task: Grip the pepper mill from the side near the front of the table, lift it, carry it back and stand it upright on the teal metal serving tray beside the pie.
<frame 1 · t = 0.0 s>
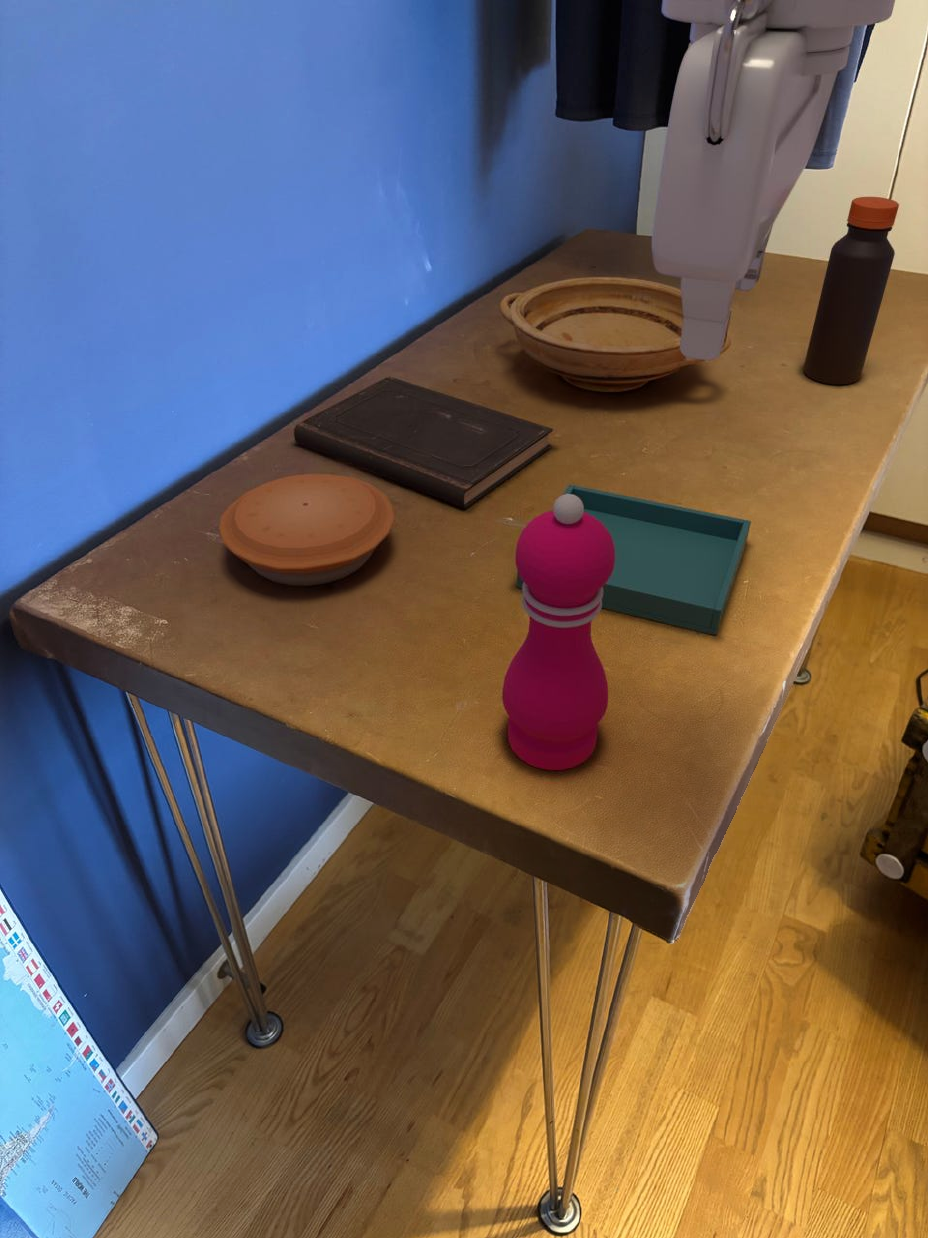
hand: (721, 317, 44), 31 cm above the table, tool pointing down, fingers open, 8 cm apart
bottle: (830, 375, 113), on the table
pie: (311, 552, 84), on the table
hardcover book: (422, 448, 99), on the table
pepper mill: (551, 740, 65), on the table
ceramic bowl: (605, 374, 114), on the table
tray: (634, 565, 81), on the table
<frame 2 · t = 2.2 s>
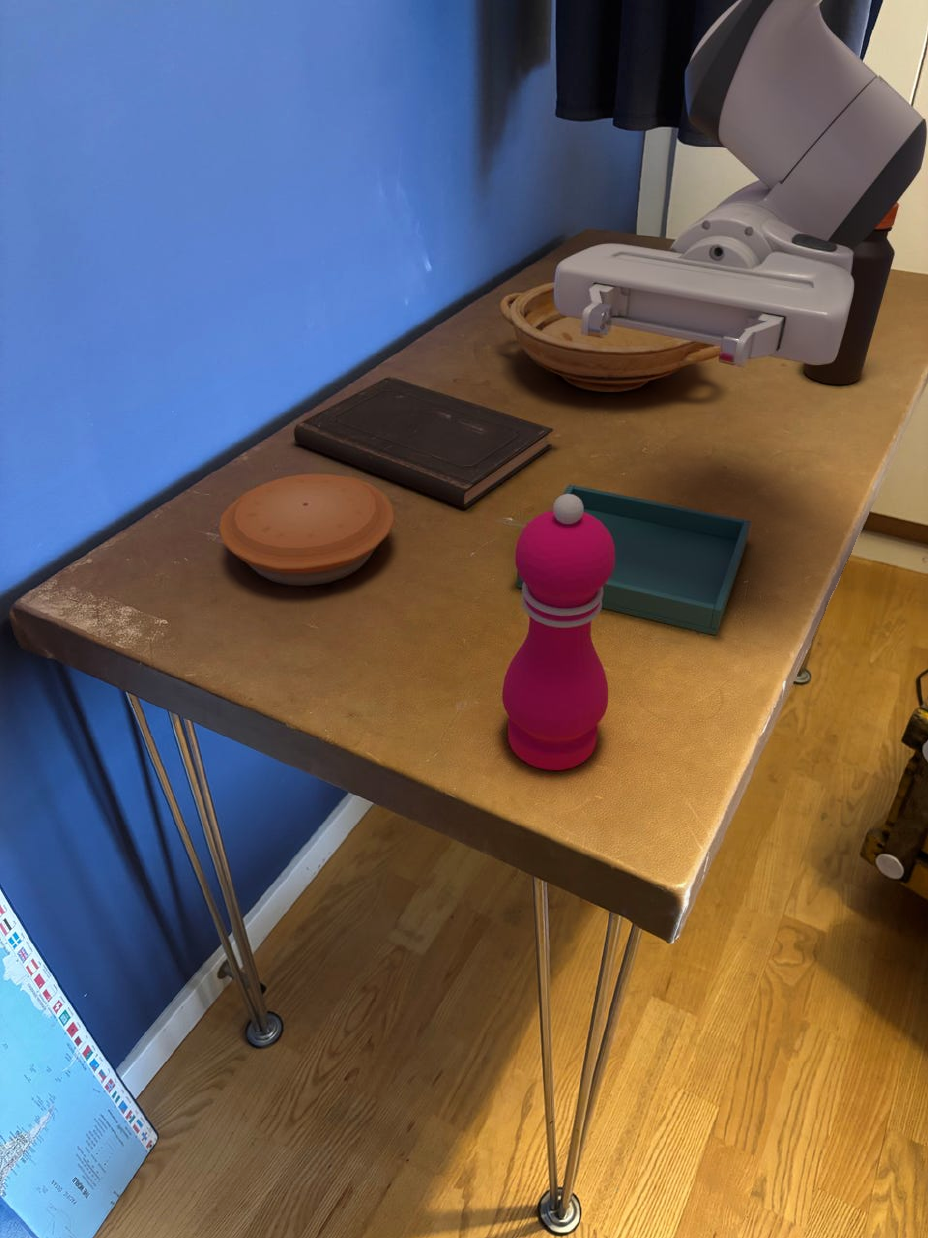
hand: (658, 338, 58), 25 cm above the table, tool horizontal, fingers open, 8 cm apart
nothing on the table moved.
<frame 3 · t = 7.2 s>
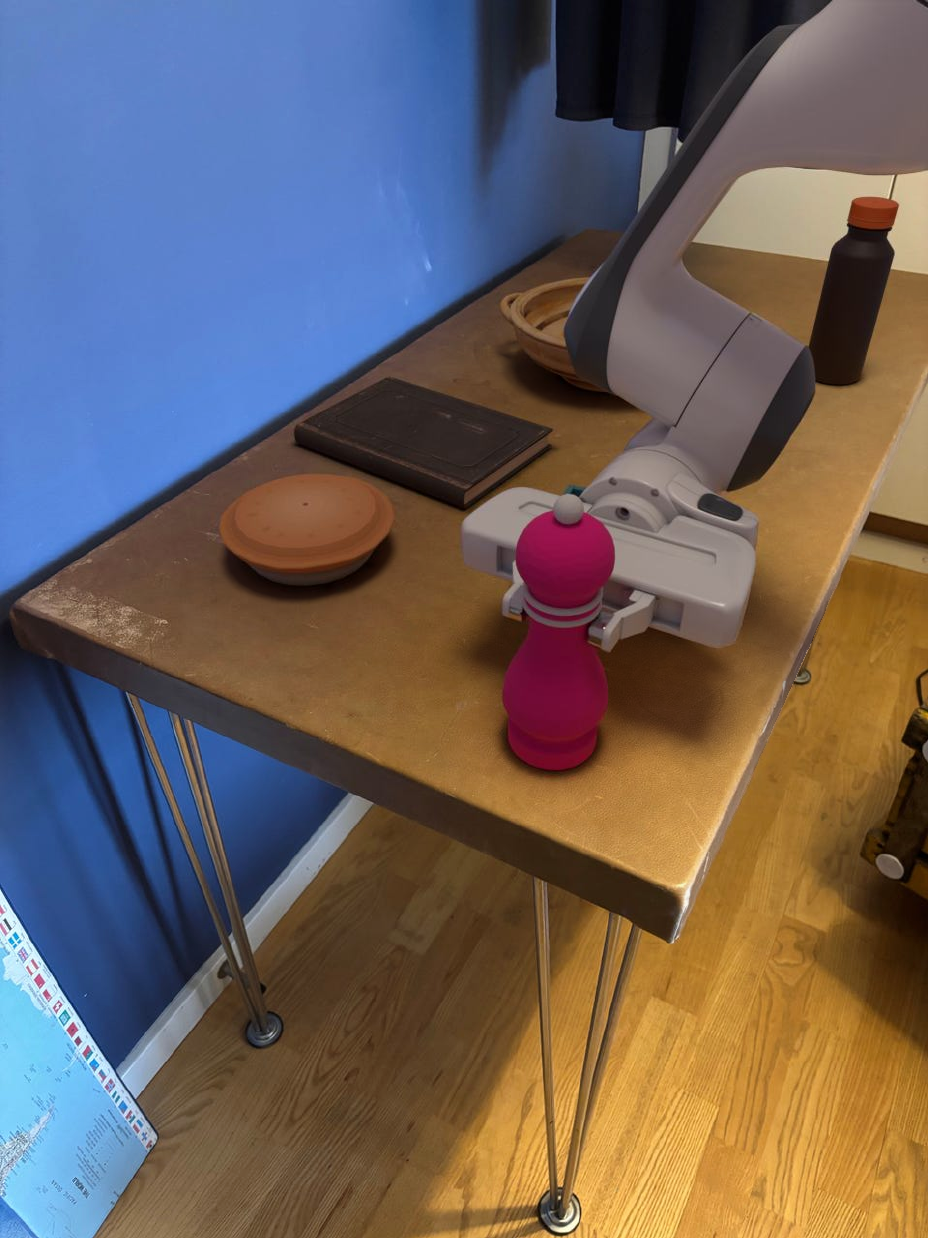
hand: (554, 625, 57), 11 cm above the table, tool horizontal, fingers closed on pepper mill, 5 cm apart
pepper mill: (551, 740, 65), on the table, touching gripper
everything else where it was.
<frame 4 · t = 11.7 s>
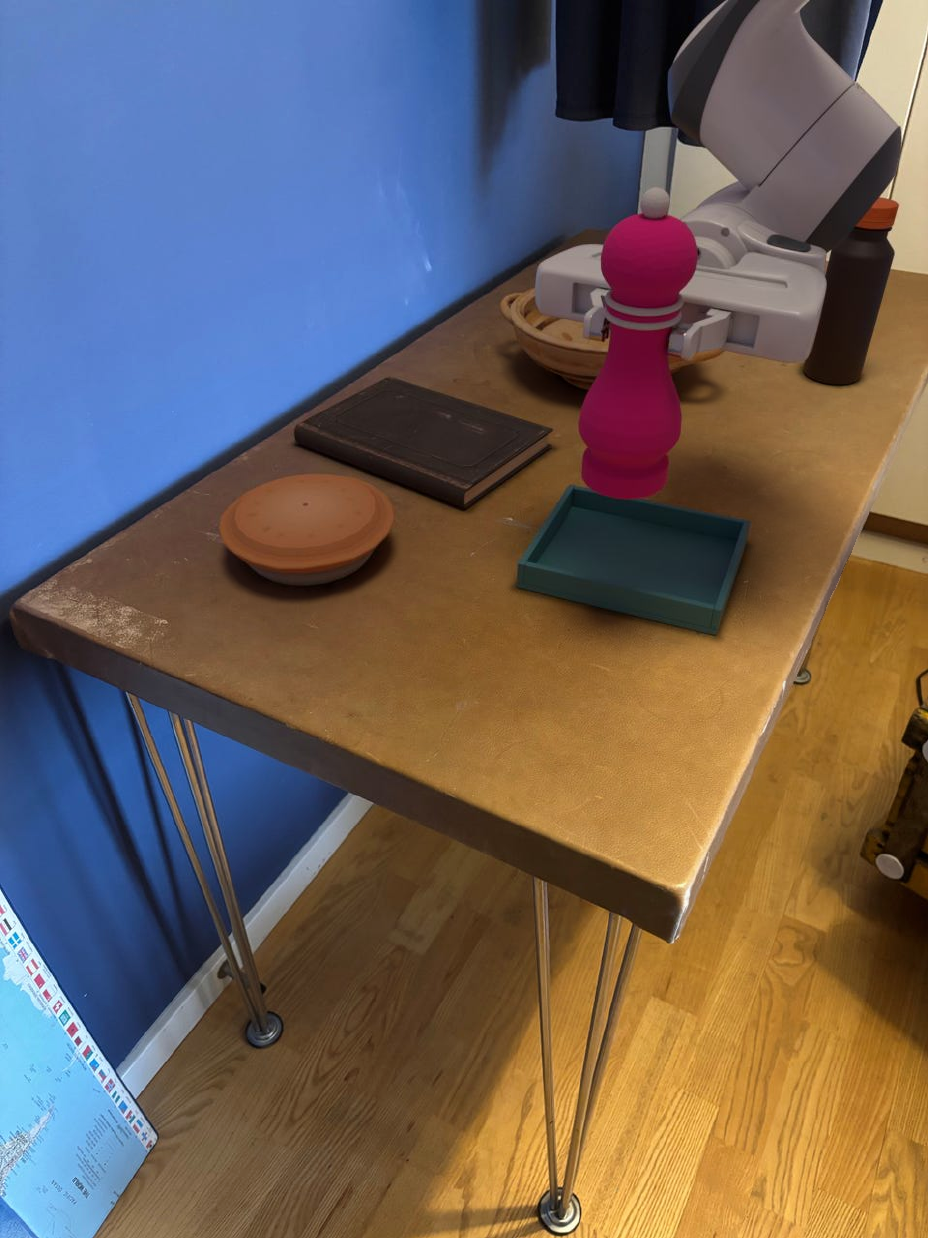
hand: (635, 338, 60), 24 cm above the table, tool horizontal, fingers closed on pepper mill, 5 cm apart
pepper mill: (623, 480, 68), point 13 cm above the table, touching gripper
everything else where it was.
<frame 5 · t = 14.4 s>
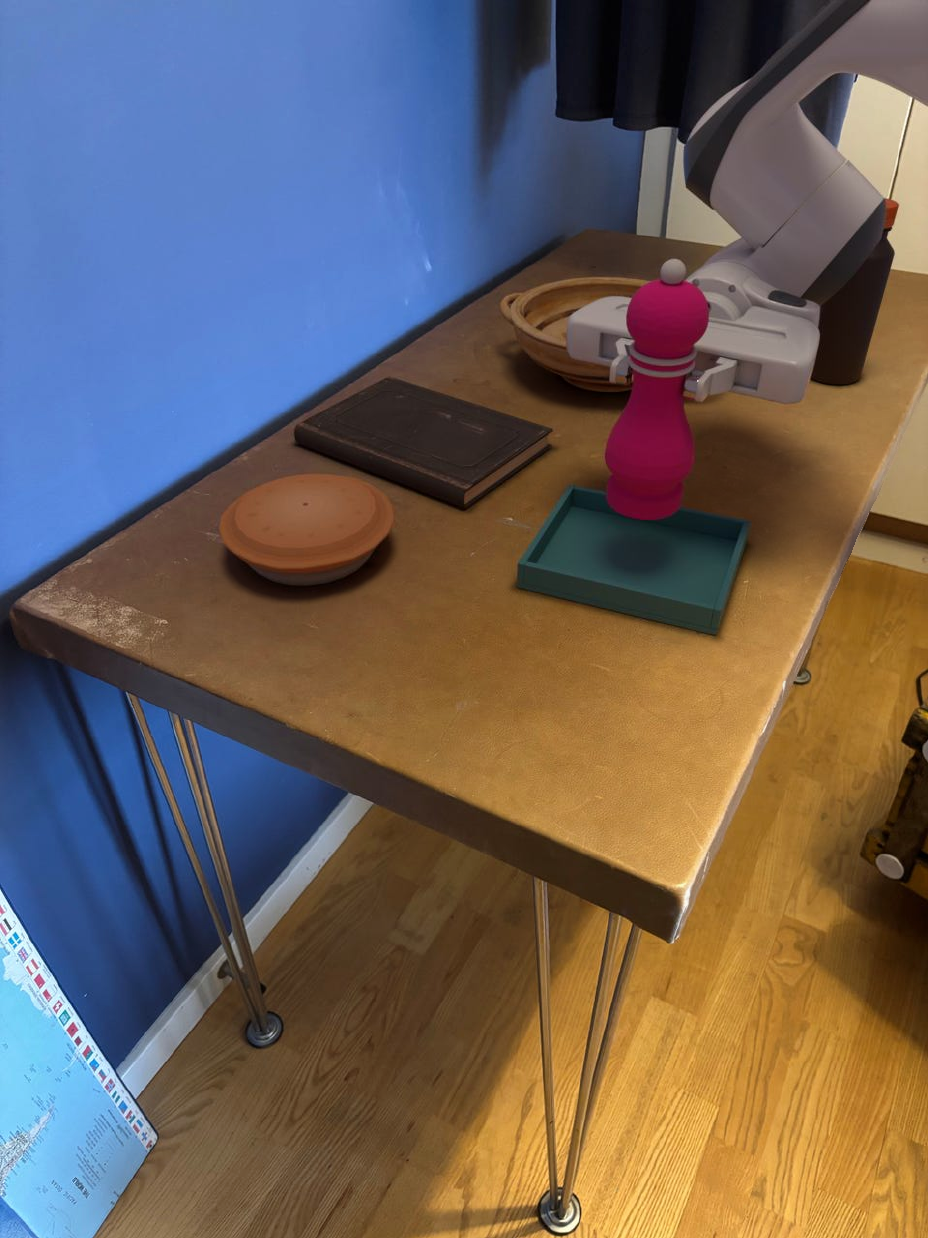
hand: (655, 383, 70), 18 cm above the table, tool horizontal, fingers closed on pepper mill, 5 cm apart
pepper mill: (643, 502, 77), point 6 cm above the table, touching gripper
everything else where it was.
when the fingers open (12 cm above the table, at t = 16.5 s): pepper mill stays where it is, resting on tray.
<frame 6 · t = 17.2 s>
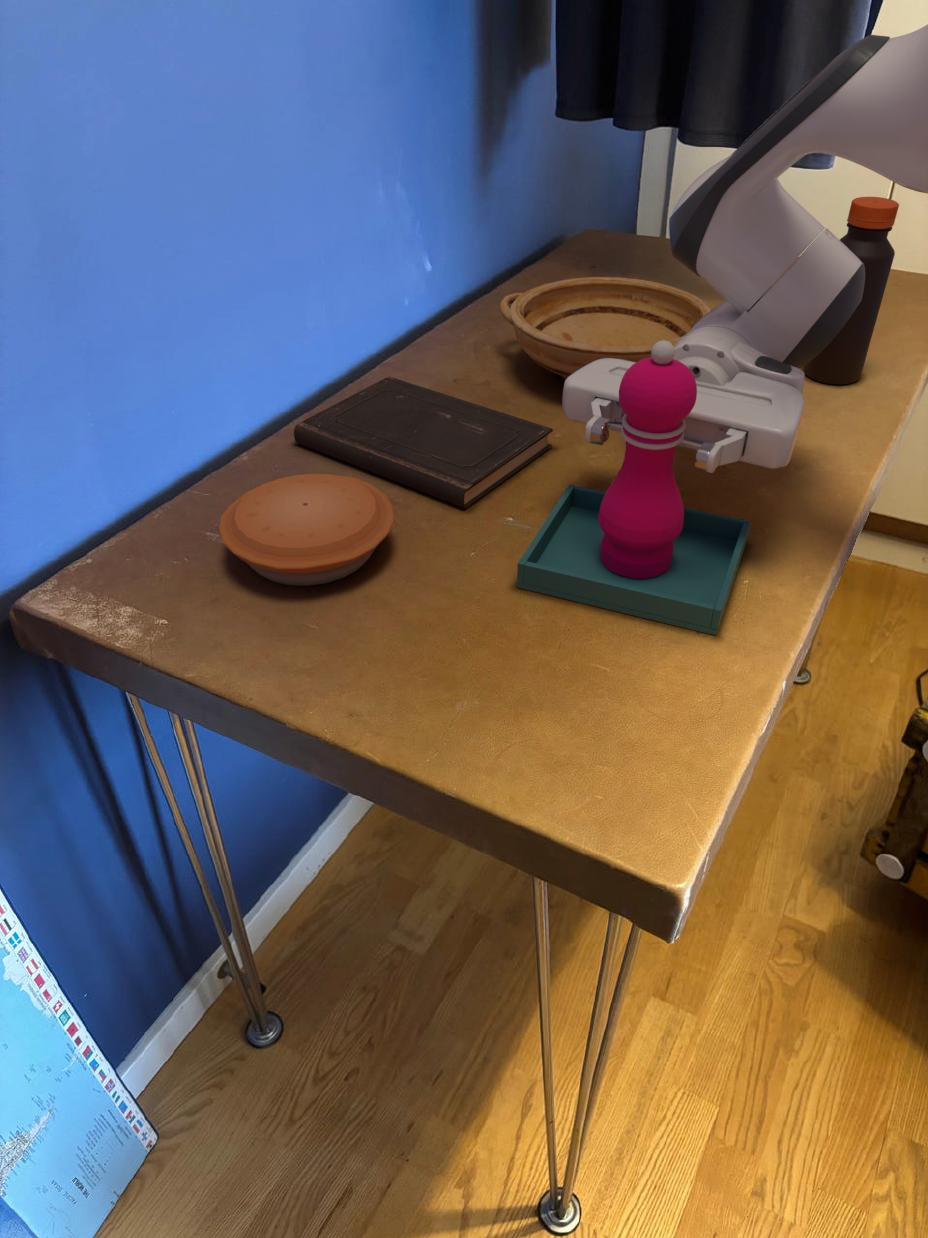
hand: (647, 448, 73), 12 cm above the table, tool horizontal, fingers open, 8 cm apart
pepper mill: (635, 560, 81), resting on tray
everything else where it was.
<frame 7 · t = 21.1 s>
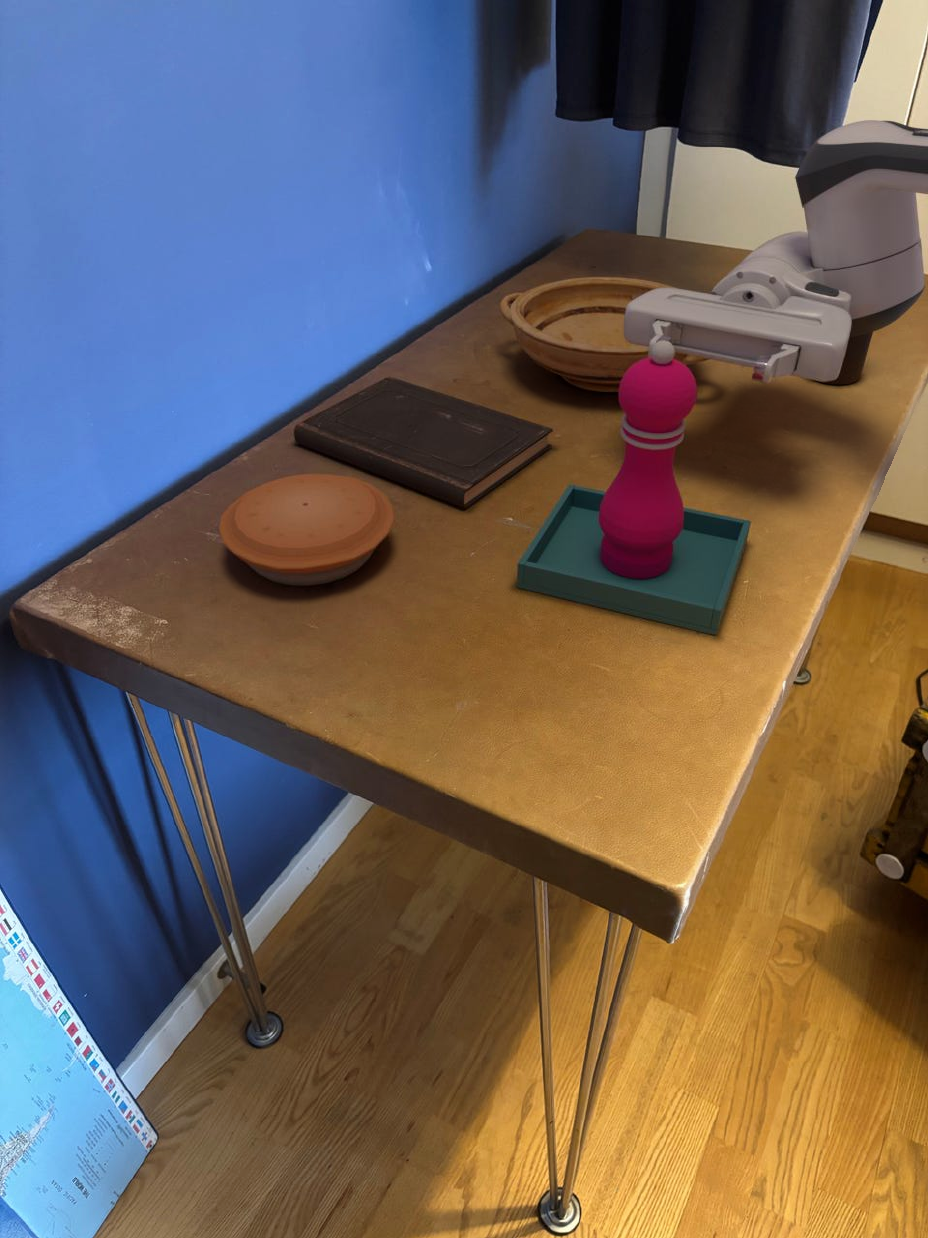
hand: (707, 362, 79), 15 cm above the table, tool horizontal, fingers open, 8 cm apart
nothing on the table moved.
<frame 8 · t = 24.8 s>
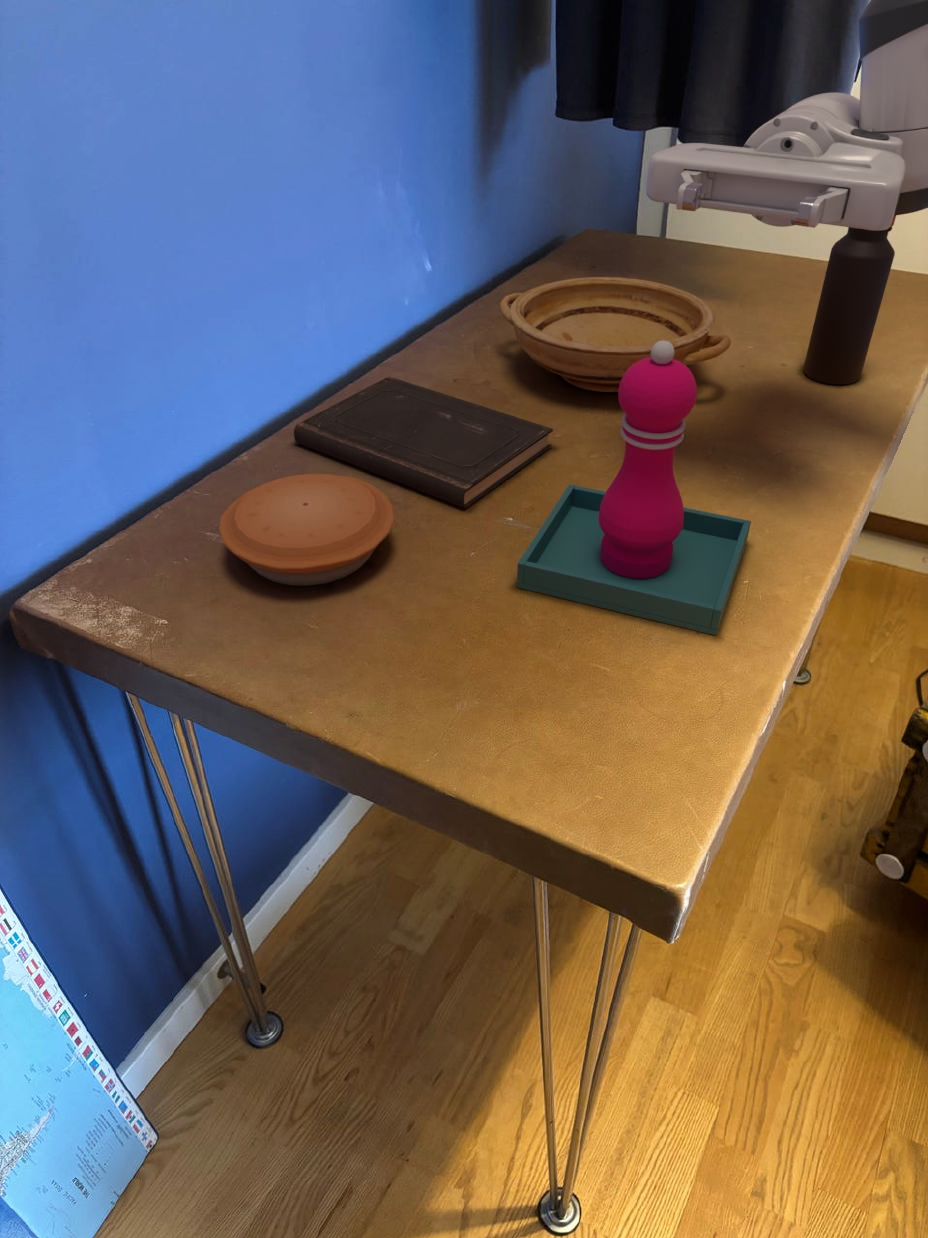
hand: (744, 207, 70), 28 cm above the table, tool horizontal, fingers open, 8 cm apart
nothing on the table moved.
at the end: pepper mill inside the target area in the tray (0.1 cm from its centre), point 0.4 cm above the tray's base; pepper mill tilted 0°; the gripper is holding nothing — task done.
